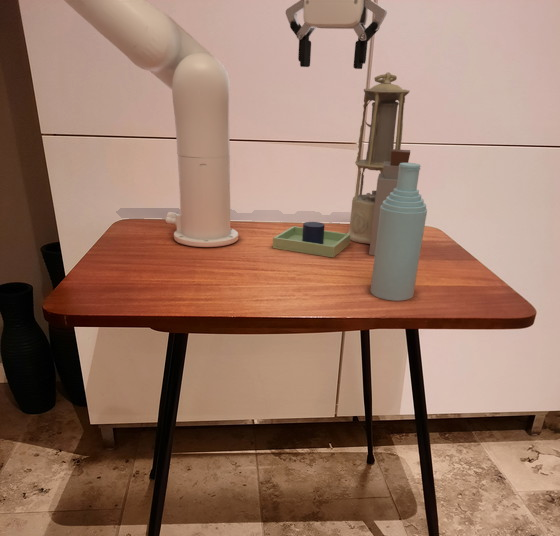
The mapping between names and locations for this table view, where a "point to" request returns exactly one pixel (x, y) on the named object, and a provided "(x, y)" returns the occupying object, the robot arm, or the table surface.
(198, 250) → the table surface
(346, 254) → the table surface
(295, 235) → the tray
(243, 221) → the table surface
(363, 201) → the lamp
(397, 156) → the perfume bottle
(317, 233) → the cap
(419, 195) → the bottle
